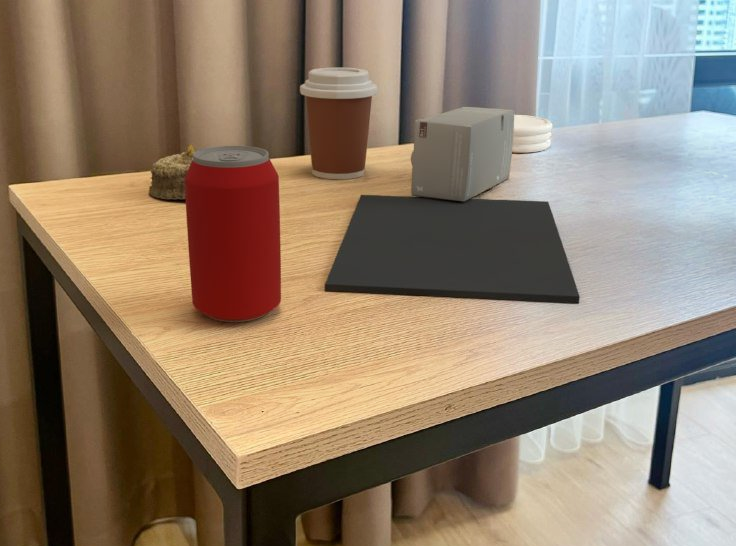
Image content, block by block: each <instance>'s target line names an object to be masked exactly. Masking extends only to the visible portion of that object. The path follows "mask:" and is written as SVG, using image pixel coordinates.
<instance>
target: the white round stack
mask: <svg viewBox="0 0 736 546" xmlns="http://www.w3.org/2000/svg"><path fill="white" fill-rule="evenodd" d="M553 128H554V125H553V123H552V122H551V120H549V119H547V118H543V117H539V116H536V115H535V116H534V115H525V114H514V134H513V147H512V154H514V153H515V154H517V153H518V154H521V153H522V154H524V153H537V152H543V151H545V150H548V149H549V148H550V147H551V145H552V140H551V139H552V136H553V132H552V130H553Z"/></svg>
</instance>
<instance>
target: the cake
mask: <svg viewBox="0 0 736 546" xmlns="http://www.w3.org/2000/svg"><path fill="white" fill-rule="evenodd" d="M194 152H196V151H195V150H194V148H193V145H192V143H190V144H189V145H188V146H187V147H186V151H185V152H181V153H180V154H179V153H177V154H172V155H167V156H165V157H162V158H159V159H158V160H156V162H154V163H153V164H152V170H150V174H151V177H150V179H151V181H150V185H149V186H148V195H149V196H152V197H153V198H156V199H161V200H180V201H181V200H186V197H185V175H186V173H187V171H188V169H189V166H190V164H191V162H192V160H193V153H194Z"/></svg>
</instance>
